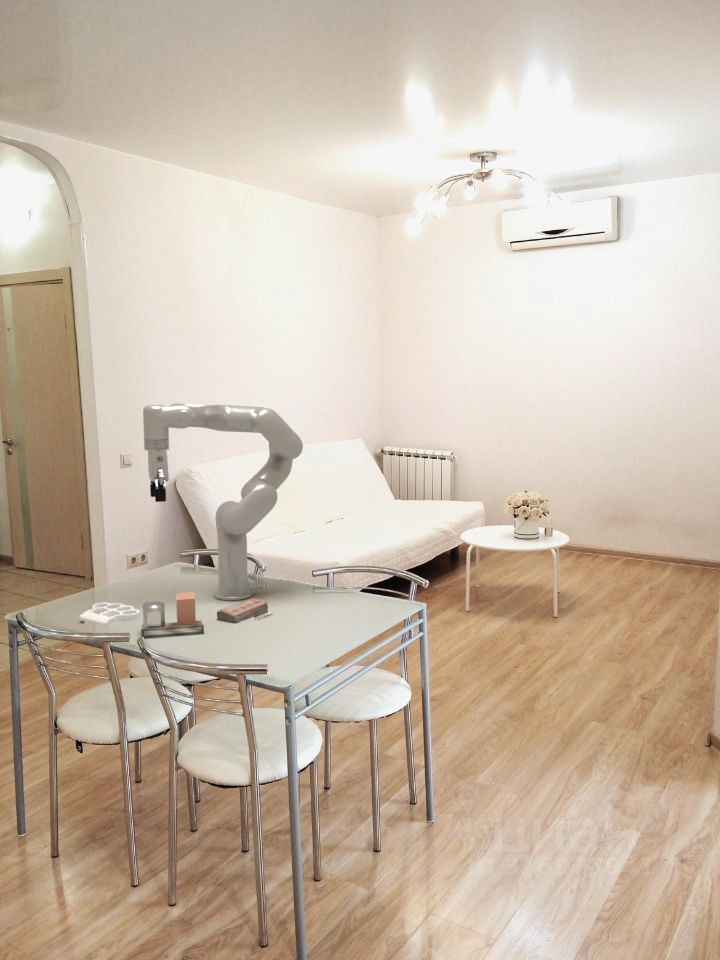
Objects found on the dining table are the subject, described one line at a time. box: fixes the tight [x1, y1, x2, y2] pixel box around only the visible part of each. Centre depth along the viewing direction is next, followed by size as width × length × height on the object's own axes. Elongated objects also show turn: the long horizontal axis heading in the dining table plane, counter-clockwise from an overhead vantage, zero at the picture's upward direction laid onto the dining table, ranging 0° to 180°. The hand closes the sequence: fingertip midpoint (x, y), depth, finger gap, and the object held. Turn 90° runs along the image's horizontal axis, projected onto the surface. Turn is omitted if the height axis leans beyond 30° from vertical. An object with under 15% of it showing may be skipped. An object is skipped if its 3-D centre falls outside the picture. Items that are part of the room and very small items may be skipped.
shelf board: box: [140, 620, 205, 639], centre depth 231 cm, size 17×12×4 cm
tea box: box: [175, 591, 197, 626], centre depth 234 cm, size 7×5×9 cm
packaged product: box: [209, 597, 269, 624], centre depth 244 cm, size 18×5×10 cm
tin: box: [142, 600, 166, 629], centre depth 229 cm, size 6×6×8 cm
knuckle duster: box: [78, 601, 141, 626], centre depth 244 cm, size 3×18×15 cm
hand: (158, 499), depth 254 cm, fingers open, 9 cm apart
